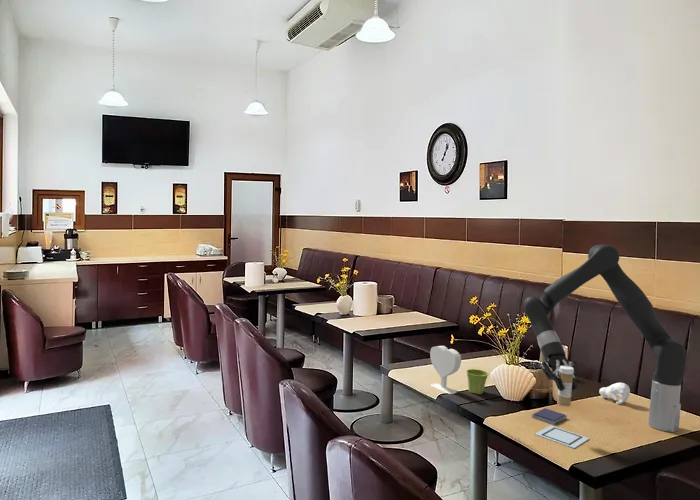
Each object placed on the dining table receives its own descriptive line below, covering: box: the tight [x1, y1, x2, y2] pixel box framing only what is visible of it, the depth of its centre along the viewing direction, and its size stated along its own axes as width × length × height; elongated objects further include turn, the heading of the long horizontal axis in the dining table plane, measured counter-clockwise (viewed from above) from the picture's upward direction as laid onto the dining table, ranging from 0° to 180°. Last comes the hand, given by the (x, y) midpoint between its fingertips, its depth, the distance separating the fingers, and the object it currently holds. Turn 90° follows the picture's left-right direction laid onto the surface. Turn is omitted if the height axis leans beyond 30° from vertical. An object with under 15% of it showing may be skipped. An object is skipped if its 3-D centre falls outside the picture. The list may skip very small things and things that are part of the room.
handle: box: [537, 343, 546, 363], centre depth 258 cm, size 5×6×15 cm
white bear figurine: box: [599, 382, 631, 405], centre depth 224 cm, size 6×8×12 cm
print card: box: [534, 424, 590, 450], centre depth 185 cm, size 14×12×1 cm
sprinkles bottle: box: [556, 365, 574, 407], centre depth 184 cm, size 5×5×13 cm
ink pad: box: [531, 407, 568, 426], centre depth 202 cm, size 9×10×2 cm
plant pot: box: [465, 368, 489, 395], centre depth 228 cm, size 9×9×9 cm
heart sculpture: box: [429, 345, 462, 395], centre depth 230 cm, size 16×5×18 cm, turn 34°
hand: (568, 389), depth 182 cm, fingers closed on sprinkles bottle, 4 cm apart
